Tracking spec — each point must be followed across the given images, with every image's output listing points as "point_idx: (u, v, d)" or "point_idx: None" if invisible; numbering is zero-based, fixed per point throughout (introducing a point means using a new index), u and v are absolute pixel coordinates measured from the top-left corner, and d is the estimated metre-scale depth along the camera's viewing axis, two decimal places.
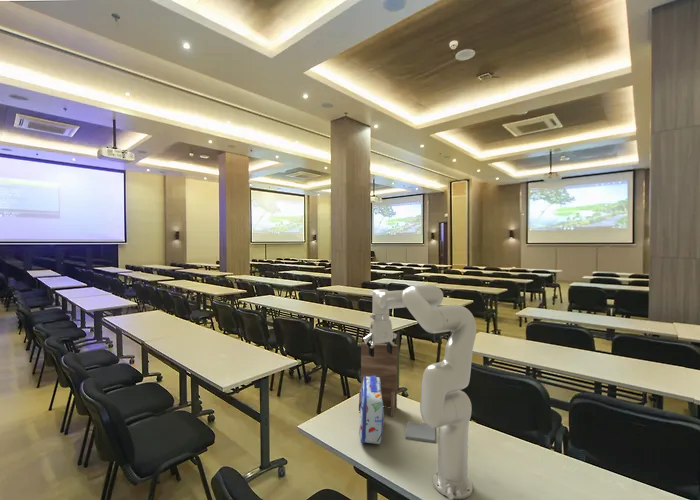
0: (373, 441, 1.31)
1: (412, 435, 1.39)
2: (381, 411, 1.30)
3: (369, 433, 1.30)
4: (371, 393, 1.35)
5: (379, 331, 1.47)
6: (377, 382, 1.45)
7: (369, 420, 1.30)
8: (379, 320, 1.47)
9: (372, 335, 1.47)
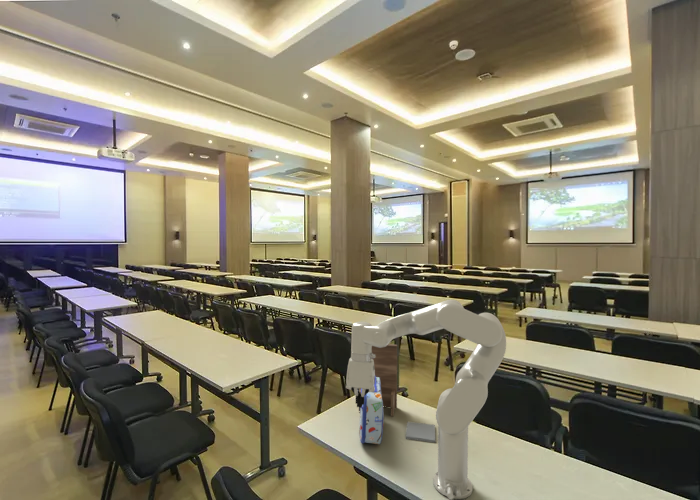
0: (373, 441, 1.31)
1: (412, 435, 1.39)
2: (381, 411, 1.30)
3: (369, 433, 1.30)
4: (371, 393, 1.35)
5: None
6: (377, 382, 1.45)
7: (369, 420, 1.30)
8: None
9: None
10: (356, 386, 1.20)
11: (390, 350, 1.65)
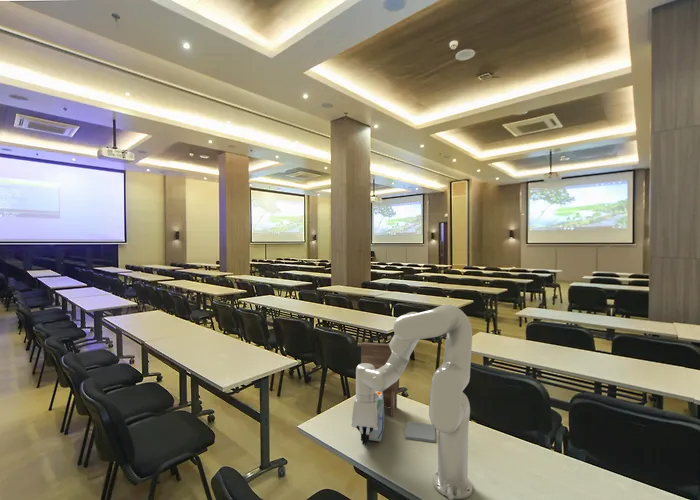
0: (374, 438, 1.33)
1: (412, 435, 1.39)
2: (381, 409, 1.32)
3: None
4: None
5: None
6: None
7: None
8: None
9: None
10: (361, 425, 1.29)
11: (390, 350, 1.65)
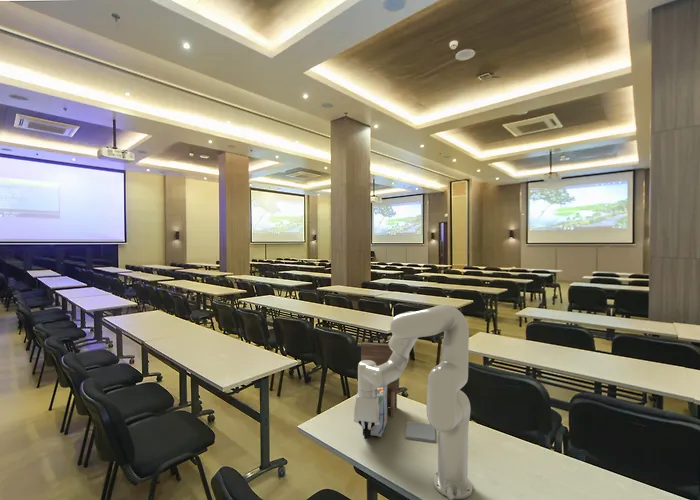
0: (374, 433, 1.36)
1: (412, 435, 1.39)
2: (382, 405, 1.35)
3: None
4: None
5: None
6: None
7: None
8: None
9: None
10: (363, 420, 1.33)
11: (390, 350, 1.65)
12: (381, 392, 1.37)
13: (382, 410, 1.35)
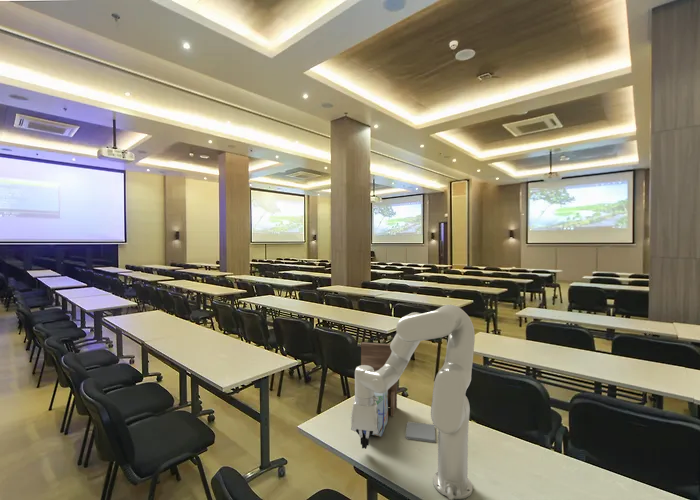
0: None
1: (412, 435, 1.39)
2: (382, 404, 1.36)
3: None
4: None
5: None
6: None
7: None
8: None
9: None
10: (361, 428, 1.26)
11: (390, 350, 1.65)
12: None
13: (382, 410, 1.36)
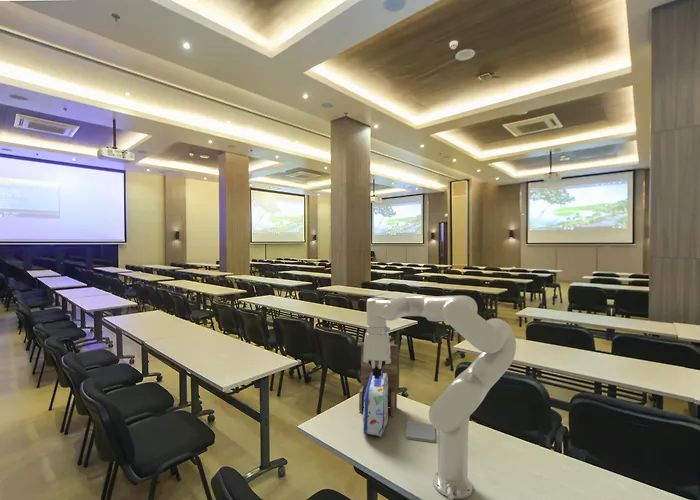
0: (375, 433, 1.37)
1: (412, 435, 1.39)
2: (382, 404, 1.36)
3: (371, 425, 1.36)
4: (374, 387, 1.41)
5: None
6: (382, 377, 1.51)
7: (370, 412, 1.36)
8: None
9: None
10: (373, 358, 1.26)
11: (390, 350, 1.65)
12: (381, 392, 1.38)
13: (382, 410, 1.36)
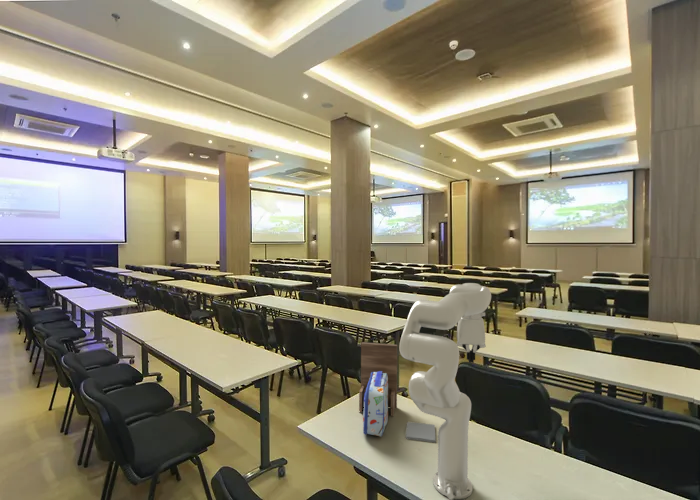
0: (375, 433, 1.37)
1: (412, 435, 1.39)
2: (382, 405, 1.36)
3: (371, 425, 1.36)
4: (374, 387, 1.41)
5: None
6: (382, 377, 1.51)
7: (370, 412, 1.36)
8: None
9: None
10: (468, 343, 1.28)
11: (390, 350, 1.65)
12: (381, 392, 1.38)
13: (382, 410, 1.36)
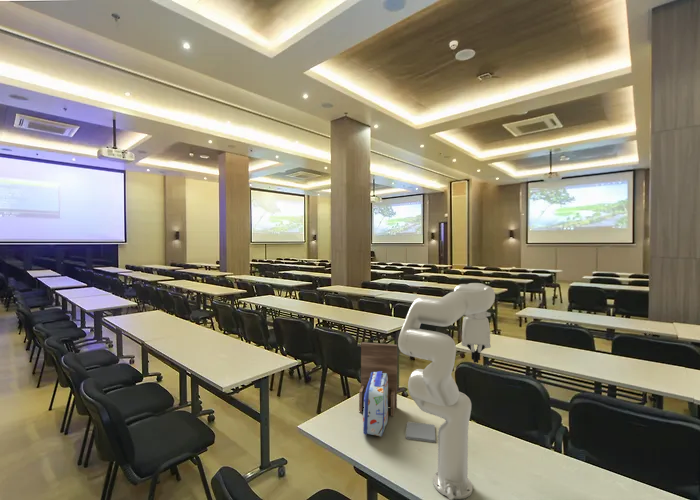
0: (375, 433, 1.37)
1: (412, 435, 1.39)
2: (382, 405, 1.36)
3: (371, 425, 1.36)
4: (374, 387, 1.41)
5: None
6: (382, 377, 1.51)
7: (370, 412, 1.36)
8: None
9: None
10: (473, 342, 1.28)
11: (390, 350, 1.65)
12: (381, 392, 1.38)
13: (382, 410, 1.36)
